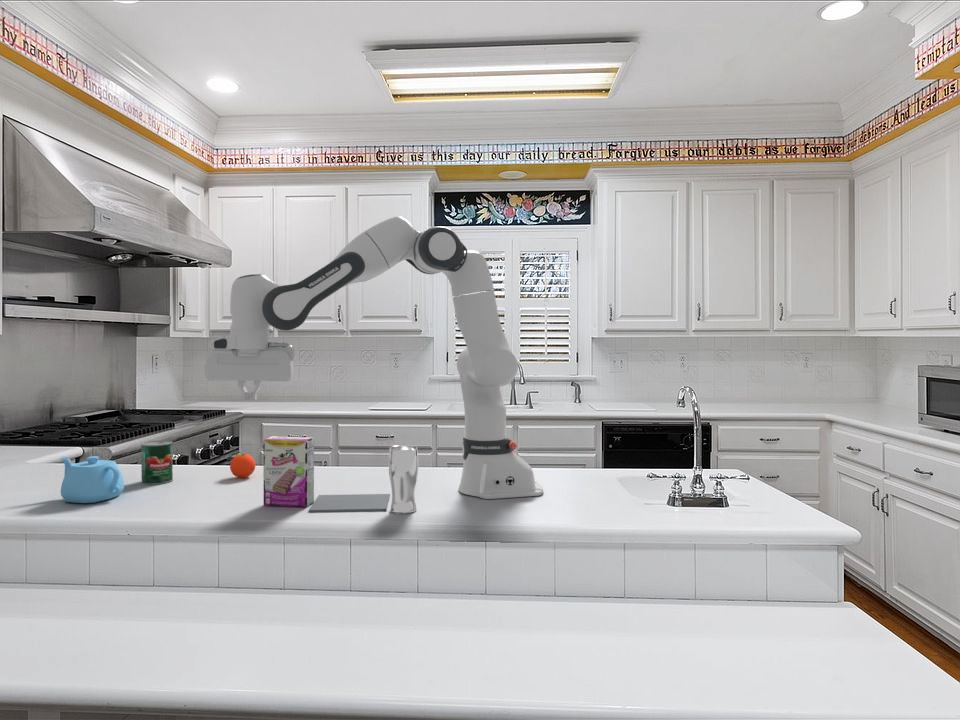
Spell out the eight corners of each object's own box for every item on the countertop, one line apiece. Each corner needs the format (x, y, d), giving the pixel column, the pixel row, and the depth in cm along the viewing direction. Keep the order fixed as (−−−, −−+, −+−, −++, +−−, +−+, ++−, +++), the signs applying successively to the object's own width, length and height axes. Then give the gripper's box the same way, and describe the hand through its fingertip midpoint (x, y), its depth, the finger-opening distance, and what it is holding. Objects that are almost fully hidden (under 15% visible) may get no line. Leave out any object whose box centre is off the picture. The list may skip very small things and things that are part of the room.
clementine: (223, 477, 184) (223, 453, 184) (245, 473, 189) (245, 449, 189) (237, 481, 179) (237, 456, 178) (260, 477, 184) (260, 453, 184)
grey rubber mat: (389, 495, 164) (389, 493, 164) (386, 510, 150) (386, 508, 150) (318, 496, 162) (319, 494, 162) (308, 512, 148) (308, 509, 148)
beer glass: (391, 506, 154) (391, 444, 153) (419, 506, 153) (420, 445, 153) (386, 514, 147) (386, 450, 146) (416, 514, 146) (416, 450, 146)
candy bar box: (262, 506, 153) (262, 438, 152) (271, 501, 158) (270, 435, 157) (307, 508, 152) (307, 439, 151) (314, 502, 157) (314, 436, 156)
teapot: (81, 450, 167) (138, 453, 163) (82, 490, 168) (138, 495, 163) (37, 459, 155) (96, 463, 151) (38, 502, 156) (97, 508, 151)
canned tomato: (155, 486, 173) (155, 445, 173) (134, 483, 176) (134, 443, 175) (179, 479, 180) (178, 441, 180) (158, 477, 183) (158, 439, 183)
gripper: (296, 342, 156) (296, 398, 157) (211, 341, 155) (211, 398, 155) (291, 342, 150) (291, 401, 151) (202, 341, 148) (202, 400, 149)
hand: (250, 399), depth 153 cm, fingers closed
